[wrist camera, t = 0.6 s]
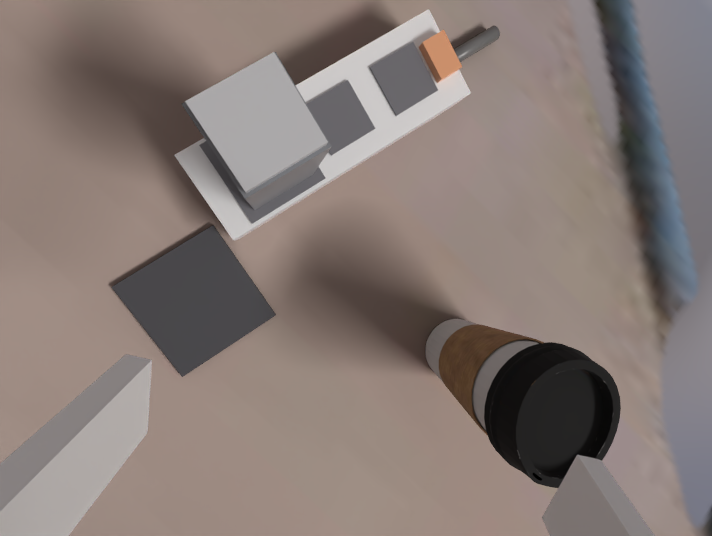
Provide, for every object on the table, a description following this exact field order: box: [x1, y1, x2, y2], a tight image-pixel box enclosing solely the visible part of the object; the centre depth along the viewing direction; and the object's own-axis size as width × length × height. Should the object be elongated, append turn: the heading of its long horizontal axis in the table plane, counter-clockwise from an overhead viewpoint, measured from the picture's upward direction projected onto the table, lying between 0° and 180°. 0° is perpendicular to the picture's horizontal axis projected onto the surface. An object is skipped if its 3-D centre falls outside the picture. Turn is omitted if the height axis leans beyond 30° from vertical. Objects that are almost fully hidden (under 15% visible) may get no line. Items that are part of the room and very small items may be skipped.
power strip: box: [174, 9, 500, 241], centre depth 30 cm, size 29×7×5 cm, turn 122°
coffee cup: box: [425, 319, 621, 488], centre depth 29 cm, size 8×8×15 cm
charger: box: [182, 52, 332, 210], centre depth 22 cm, size 5×5×10 cm
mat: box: [112, 225, 276, 377], centre depth 31 cm, size 9×9×1 cm
